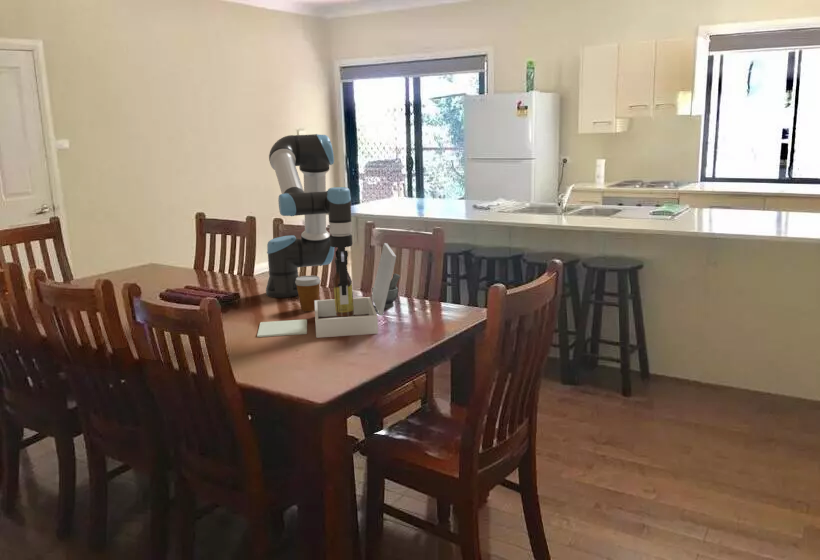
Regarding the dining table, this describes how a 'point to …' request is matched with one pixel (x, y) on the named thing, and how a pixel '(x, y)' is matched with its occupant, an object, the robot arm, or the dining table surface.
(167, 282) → the dining table surface
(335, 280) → the sauce bottle
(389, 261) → the case lid
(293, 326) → the mat
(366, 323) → the case
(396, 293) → the mortar and pestle
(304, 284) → the disposable coffee cup
